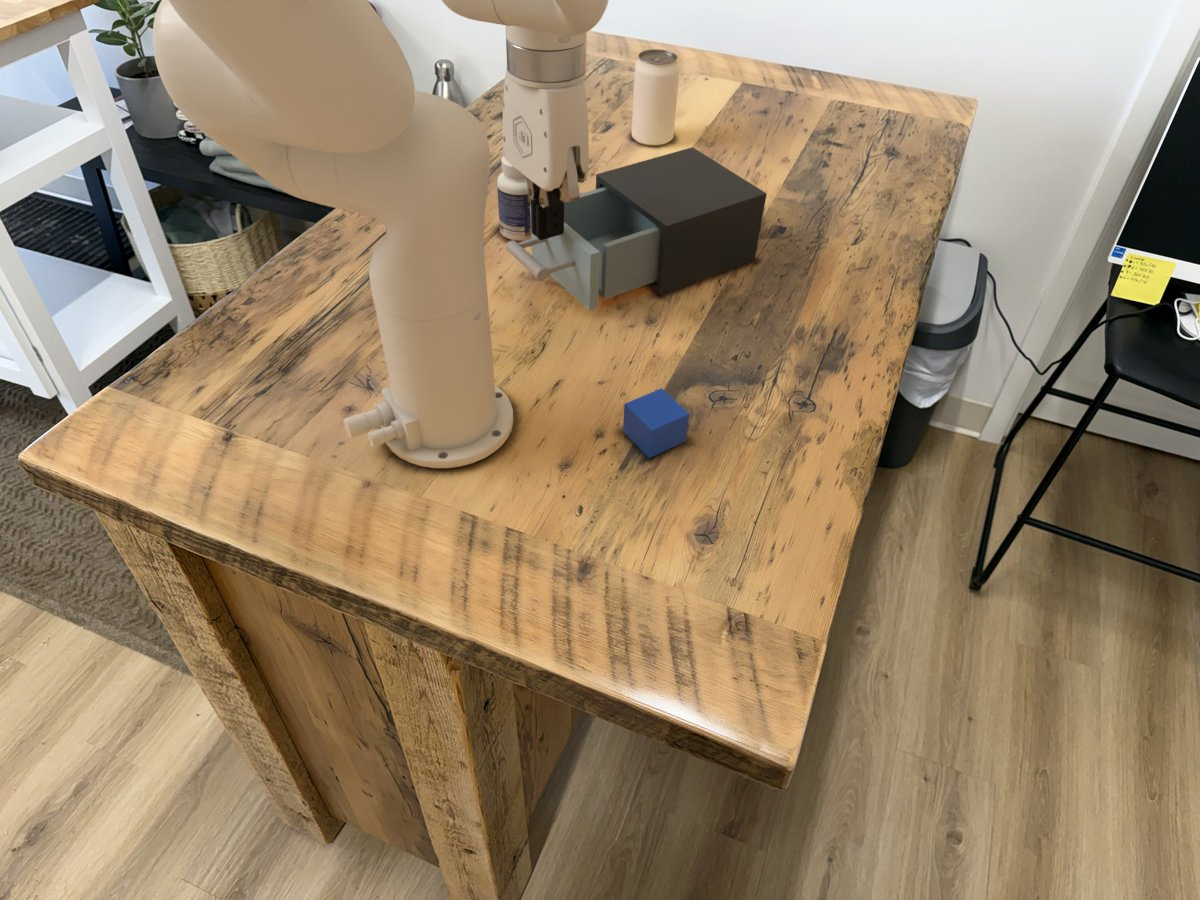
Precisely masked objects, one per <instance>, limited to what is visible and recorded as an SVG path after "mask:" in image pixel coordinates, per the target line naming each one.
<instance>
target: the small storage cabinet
mask: <svg viewBox="0 0 1200 900" xmlns="http://www.w3.org/2000/svg"><path fill="white" fill-rule="evenodd" d="M602 187H606V188H607V189H608V190H610V191H611V192H612V193H614V194H615V195H616V196H618V197H619V198H620V199H622V200H623V201H624V202H626V203H627V204H628V205H630V206H631V207H633V208H634V209H635V210H637V211H638V212H639V213H641V214H642V215H643V216H645V217H646V218H647V219H649V220H650V221H651V222H653V223H654V224H655V225H657V226H658V227H659V228H661V229H662V235H661V246H660V258H659V269H658V281H655V282H652V283H650V284H647V285H646V286H648V287H649V288H650V289H651V290H652V291H653V292H655V293H656V294H657V295H659V296H660V297H661V296H664V295H666V294H669V293H672V292H675V291H677V290H680V289H683V288H685V287H689V286H691V285H694V284H696V283H699V282H702V281H705V280H707V279H710V278H713V277H716V276H718V275H721V274H723V273H726V272H730V271H732V270H734V269H737V268H740V267H743V266H745V265H748V264H751V263H755V261H756V255H757V250H758V245H759V239H760V234H761V228H762V222H763V216H764V212H765V211H764V210H765V205H766V201H767V200H766V199H767V192H765V191H763V190H762V189H760V188H759V187H758V186H755V185H754V184H752V183H751V182H749V181H747V180H746V179H745V178H743V177H741V176H739V175H738V174H737V173H735V172H733V171H732V170H730V169H729V168H727V167H725V166H724V165H722V164H720V163H719V162H717V161H715V160H714V159H713V158H711V157H709V156H707V155H706V154H704V153H703V152H702V151H699V150H698V149H696V148H695V147H688V148H685V149H681V150H677V151H674V152H670V153H667V154H664V155H660V156H657V157H653V158H649V159H646V160H642V161H638V162H634V163H631V164H628V165H624V166H621V167H618V168H613V169H609V170H606V171H603V172H599V173H597V174H595V189H599V188H602Z"/></svg>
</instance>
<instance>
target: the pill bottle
mask: <svg viewBox="0 0 1200 900" xmlns="http://www.w3.org/2000/svg"><path fill="white" fill-rule="evenodd" d="M500 163H501V166H500V167H501V173H500V174H499V175H498V176H497V180H496V188H497V189H496V191H497V203H498V204H497V208H498V220H499V221H498V223H499V231H500V234H501V235H502V236H503V237H504V238H505V239H508V240H510V241H511V240H514V241H516V242H518V241H519V242H522V241H525V240H528V239H531V216H530V203H531V200H534V199H531V198H530V197H529V194H528V187H527V177H526V176H525V175H523V174H522V173H521V172H519V171H518V170H517V169H516V168H514V167H513V166H512V165H511V164H510V163H509V162H508V161H507V160H506V158H505V157H504V155H503V156H502V157H501V160H500Z"/></svg>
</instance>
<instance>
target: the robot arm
mask: <svg viewBox="0 0 1200 900" xmlns="http://www.w3.org/2000/svg"><path fill="white" fill-rule="evenodd" d="M441 2H442V3H443V4H444V5H445V6H446V7H447V8H448V9H449V10H450V11H451V12H453V13H454V14H456V15H458V16H461V17H463V18H466V19H468V20H472V21H477V22H484V23H488V24H496V25H501V26H505V47H506V49H505V50H506V51H505V52H506V69H505V74H504V83H503V92H502V153H503V156H504V157H505V158H506V160H507V161H508V162H509V163H510V164H511V165H512V166H513V167H514V168H516V169H517V170H518V171H519V172H521V173H522V174H523V175H525V176H526V177H527V187H528V194H529V197H530V198H531V199H534V200H531V232H532V234H534V235H535V236H537V238H538V239H539V240H544V239H548V238H551V237H554V236H558V235H561V234H563V232H564V203H565V202H567V203H569V202H573V201H576V200H579V198H580V195H579V194H580V186H579V183H580V184H582V183H584V182H585V181H586V179H587V176H588V170H589V159H590V156H589V155H590V153H589V152H590V141H589V139H590V138H589V137H590V136H589V113H588V101H587V92H586V83H585V79H586V76H587V72H586V71H587V39H588V38H587V37H588V32H589V31H591V30H592V29H593V28H595V27H596V26H597V25H598V24H599V22H600V21H601V19H602V18H603V16H604V13H605V12H606V10H607V8H608V4H609V0H441ZM152 49H153V50H152V51H153V56H154V60H155V65H156V67H157V71H158V74H159V77H160V79H161V82H162V84H163V86H164V88H165V90H166V92H167V94H168V95H169V97H170V99H171V100H172V102H173V103H174V106H176V108H177V109H178V111H180V112H181V114H182V115H183V116H184V117H185V118H186V120H188V121H189V122H190V123H191V124H192V125H193V126H194V127H196V128H197V130H199V131H200V132H202V133H203V134H204V135H206V136H207V137H208V138H209V139H210V140H212V141H213V142H215V143H216V144H217V145H218V146H220V147H221V148H223V149H224V150H225V151H226V152H227V153H229V154H230V155H232V156H233V157H234V158H236V160H238V161H240V162H241V163H242V164H244V165H245V166H246V167H247V168H249V169H250V170H252V171H253V172H254V173H256V174H257V175H258V176H260V177H261V178H262V179H264V180H265V181H266V182H268V183H270V184H271V185H272V186H273V187H275V188H277V189H279V190H280V191H281V192H284V193H286V194H288V195H289V196H292V197H294V198H297V199H300V200H303V201H307V202H310V203H313V204H317V205H321V206H326V207H329V208H334V209H338V210H341V211H342V210H343V211H347V212H351V213H354V214H355V213H356V214H358V215H361V216H365V217H368V218H371V219H375V220H376V221H378V222H381V223H382V224H383V225H384V226H385V231H386V233H385V236H384V237H383V238H382V239H381V241H380V242H379V243H378V244H377V246H376V247H375V249H374V250H373V252H372V255H371V257H370V261H369V265H368V266H369V267H368V277H369V285H370V290H371V295H372V299H373V305H374V310H375V315H376V320H377V324H378V330H379V335H380V340H381V346H382V349H383V350H382V351H383V355H384V361H385V367H386V371H387V377H388V381H389V387H385V388H382V390H381V394H382V401H380V402H377V403H375V404H374V409H370V410H368V411H364V412H359V413H356V414H353V415H350V416H348V417H346V418H344V419H342V422H343V426H344V428H345V431H346V433H347V435H348V437H349V438H350V439H354V438H356V437H359V436H362V435H365V434H366V436H367V438H368V442H369V444H370V446H371V447H372V448H375V447H378V446H381V445H383V444H385V445H386V446H387V447H388V448H389V450H390V451H391V452H392V453H393V454H395V455H396V456H397V457H398V458H400V459H402V460H404V461H406V462H407V463H410V464H413V465H416V466H420V467H424V468H431V469H451V468H452V469H453V468H460V467H463V466H467V465H471V464H474V463H476V462H479V461H481V460H483V459H484V460H485V459H486V458H487V457H489V456H490V455H492V454H494V453H496V451H498V450H499V449H500V448H501V447H502V446H503V445H504V444H505V442H506V441H507V440H508V439H509V437H510V434H511V433H512V431H513V426H514V409H513V406H512V402H511V400H510V399H509V397H508V395H507V394H506V392H504V391H503V389H501V388H500V387H498V386H497V385H496V383H495V382H496V381H495V371H494V370H495V369H494V357H493V343H492V333H491V332H492V331H491V319H490V307H489V306H490V305H489V295H488V294H489V293H488V283H487V275H486V274H487V271H486V258H485V256H486V255H485V215H486V207H487V206H486V205H487V194H488V188H489V187H488V186H489V178H490V167H491V149H490V142H489V139H488V135H487V132H486V131H485V129H484V127H483V125H482V123H481V122H480V120H479V119H478V118H477V117H476V116H475V115H474V114H473V113H472V112H471V111H469V110H468V109H467V108H466V107H464V106H462V105H460V104H459V103H457V102H456V101H453V100H451V99H448V98H445V97H443V96H440V95H437V94H433V93H429V92H425V91H420V90H416V89H415V82H414V81H415V80H414V77H413V73H412V70H411V67H410V64H409V62H408V60H407V58H406V56H405V53H404V52H403V50H402V48H401V45H400V44H399V43H398V40H396V37H395V36H394V35H393V33H392V32H391V31H390V29H389V28H388V26H387V25H386V23H385V22H384V21H383V19H382V18H381V17H380V15H379V14H378V13H377V11H376V10H375V8H374V7H373V6H372V4H371V3H370V1H368V0H161V1H160V2H159V5H158V6H157V9H156V11H155V15H154V19H153V25H152ZM378 428H379V429H378ZM375 429H376V430H375ZM372 430H373V431H372Z"/></svg>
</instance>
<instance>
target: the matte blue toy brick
mask: <svg viewBox="0 0 1200 900" xmlns="http://www.w3.org/2000/svg"><path fill="white" fill-rule="evenodd" d="M623 406H624V407H623V421H622V422H623V423H622V432H623V434H624V435H626V436H627V438H628V439H629V440H631V442H632V443H634V445H635V446H636V447H637V448H638V449H639V450H640V451H641V452H642V454H644V455H645V456H646V457H647V458H648V459H651V458H653V457H655V456H658V455H660V454H661V453H664V452H666V451H668V450H670V449H672V448H674V447H677V446H679V445H681V444H684V443H686V441H687V435H688V428H689V420H690V413H689V412H688V411H687V410H686V409H685V408H684V407H683V406H682V405H681V404H679V402H678V401H676V400H675V399H674V398H673V397H672V396H671V395H670V394H669V393H668V392H667V391H665V389H664V388H659V389H656V390H654V391H651V392H649V393H647V394H645V395H642V396H640V397H637V398H635V399H632V400H630V401H628V402H625V403H624V405H623Z"/></svg>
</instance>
